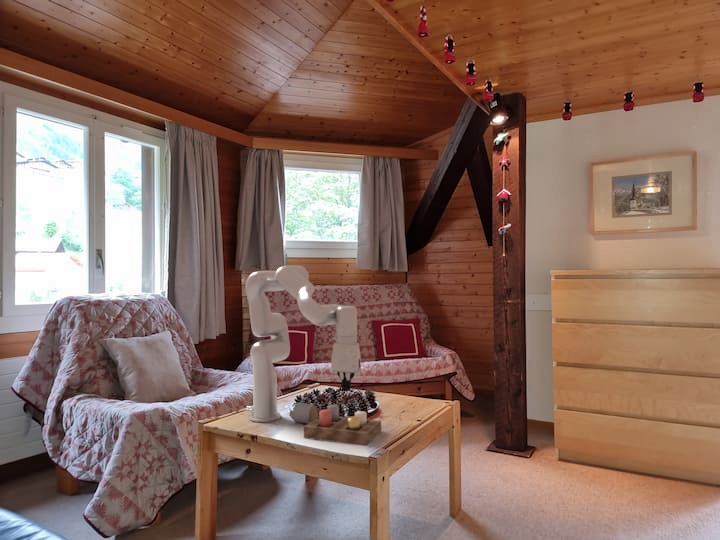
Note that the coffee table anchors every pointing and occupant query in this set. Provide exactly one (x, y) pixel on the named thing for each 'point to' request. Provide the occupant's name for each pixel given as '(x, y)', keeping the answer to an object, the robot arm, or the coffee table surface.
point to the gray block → (334, 412)
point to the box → (343, 431)
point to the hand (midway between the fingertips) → (346, 390)
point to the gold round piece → (354, 423)
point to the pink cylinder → (325, 418)
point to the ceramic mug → (304, 413)
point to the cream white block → (362, 417)
